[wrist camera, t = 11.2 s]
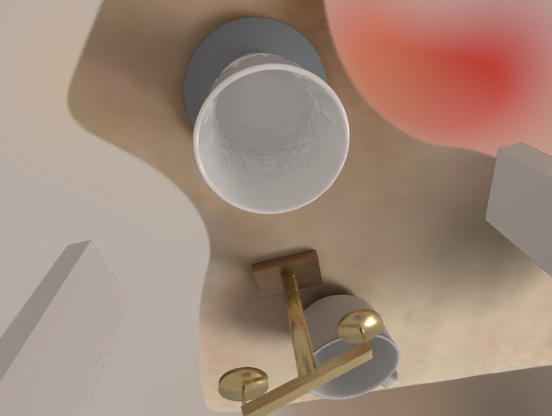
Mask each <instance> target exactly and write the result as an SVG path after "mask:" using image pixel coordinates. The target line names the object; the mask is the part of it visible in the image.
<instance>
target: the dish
mask: <svg viewBox="0 0 552 416" xmlns="http://www.w3.org/2000/svg"><path fill="white" fill-rule="evenodd" d="M247 53H271V54H273V55H277V56H280V57H283V58H285V59H288V60H290V61H292V62H294V63H296V64H298V65H299V66H301V67H302V68H304V69H306V70H308V71H309V72H311V73H313V74H314V75H316V76H318V77H319V78H320V79H322V80H323V81H324V82H325V83H327V77H326V73H325V69H324V66H323V64H322V61H321V59H320V57H319V55H318V54H317V52H316V50H315V49H314V47H313V46H312V45H311V44H310V42H309V41H308V40H307V39H306V38H305V37H304V36H303V35H301V34H300V33H299V32H298V31H296V30H295V29H293V28H292V27H290V26H288V25H286V24H284V23H282V22H279V21H276V20H273V19H269V18H262V17H247V18H241V19H237V20H234V21H231V22H228V23H226V24H224V25H222V26H220V27H218V28H217V29H216V30H214V31H213V32H211V33H210V34H209V35H208V36H207V37H206V38H205V39H204V40H203V41H202V42H201V44H200V45H199V46H198V47H197V49H196V50H195V52H194V54H193V55H192V57H191V59H190V62H189V64H188V67H187V70H186V74H185V78H184V87H183V94H184V104H185V109H186V113H187V116H188V119H189V121H190V124H191V126H192V128H193V130H194V127H195V123H196V119H197V116H198V114H199V111H200V109H201V107H202V105H203V103H204V101H205V100H206V98H207V96H208V94H209V92H210V90H211V88H212V86H213V84H214V82H215V81H216V79H217V78H218V77H219V75H220V74H221V73H222V71H223V70H224V69H225V68H226V67H227V66H228V64H229V63H230V62H232V61H234V60H236V59H238V58H240V57H242V56H243V55H245V54H247ZM327 84H328V83H327Z"/></svg>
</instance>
